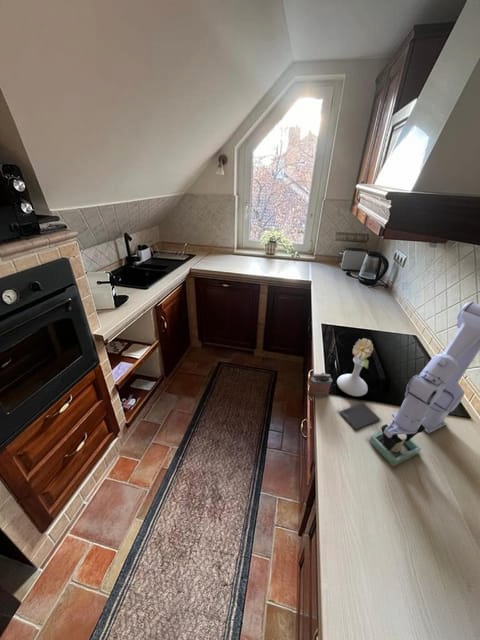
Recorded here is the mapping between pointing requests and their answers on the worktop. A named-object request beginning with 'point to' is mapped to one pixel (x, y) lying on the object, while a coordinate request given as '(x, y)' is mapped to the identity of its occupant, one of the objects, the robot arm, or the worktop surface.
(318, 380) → the lighter
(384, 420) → the worktop surface
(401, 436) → the shaving stick
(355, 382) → the flower in vase
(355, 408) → the slate mat
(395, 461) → the green rectangular frame
